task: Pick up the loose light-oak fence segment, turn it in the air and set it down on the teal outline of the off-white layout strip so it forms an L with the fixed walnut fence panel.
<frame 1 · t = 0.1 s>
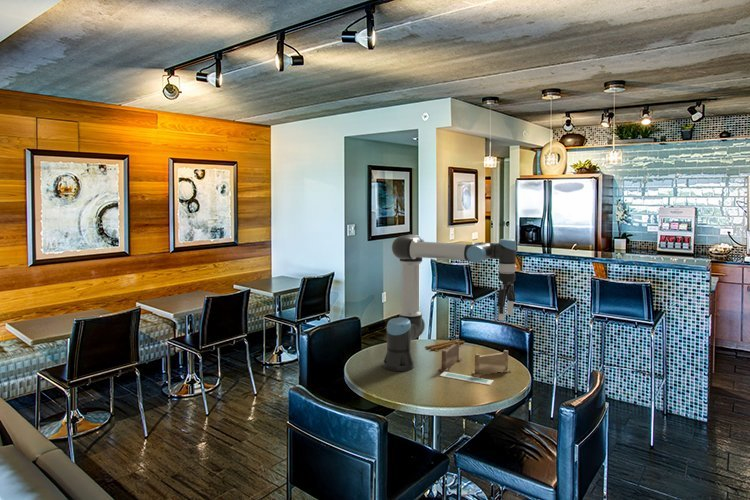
hand: (505, 317, 232), 28 cm above the table, fingers open, 13 cm apart
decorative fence: (445, 347, 282), on the table
layout strip: (466, 378, 230), on the table
oak fence segment: (491, 373, 238), on the table
walnut fence panel: (450, 365, 249), on the table
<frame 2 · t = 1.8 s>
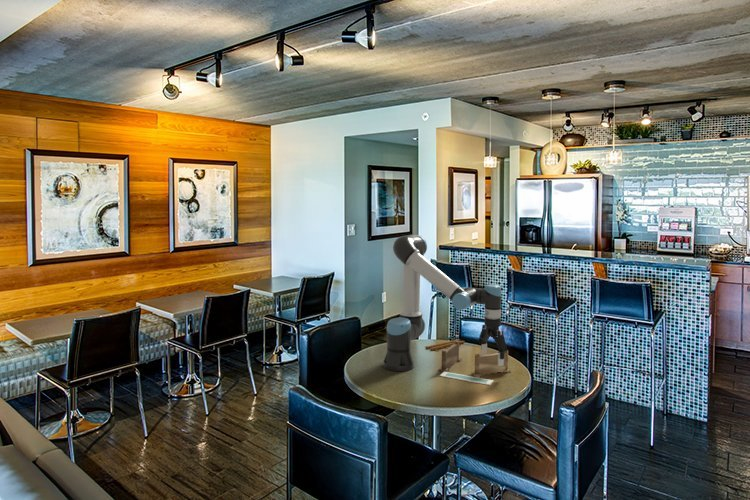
hand: (492, 361, 237), 6 cm above the table, fingers open, 13 cm apart
nothing on the table moved.
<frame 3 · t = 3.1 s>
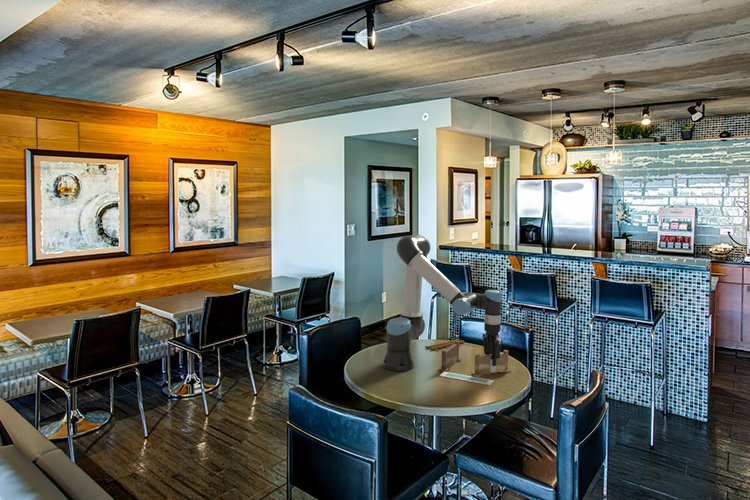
hand: (491, 371, 238), 1 cm above the table, fingers closed on oak fence segment, 2 cm apart
oak fence segment: (491, 373, 238), on the table, touching gripper
everything else where it was.
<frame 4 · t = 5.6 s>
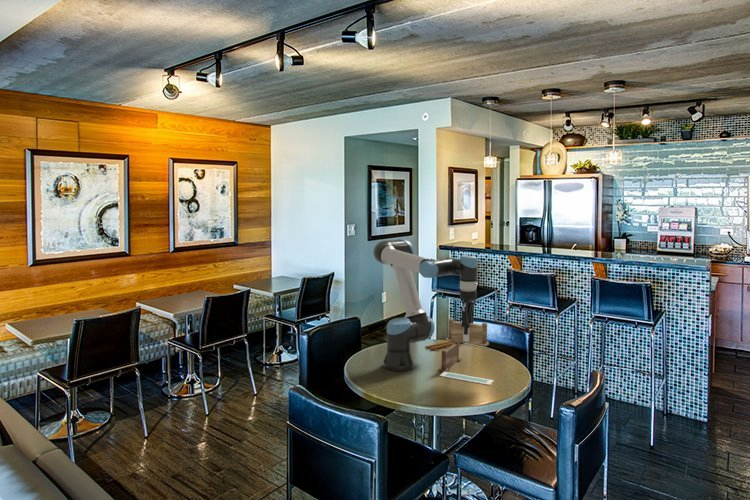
hand: (467, 340, 229), 18 cm above the table, fingers closed on oak fence segment, 2 cm apart
oak fence segment: (467, 342, 229), point 17 cm above the table, touching gripper
everything else where it was.
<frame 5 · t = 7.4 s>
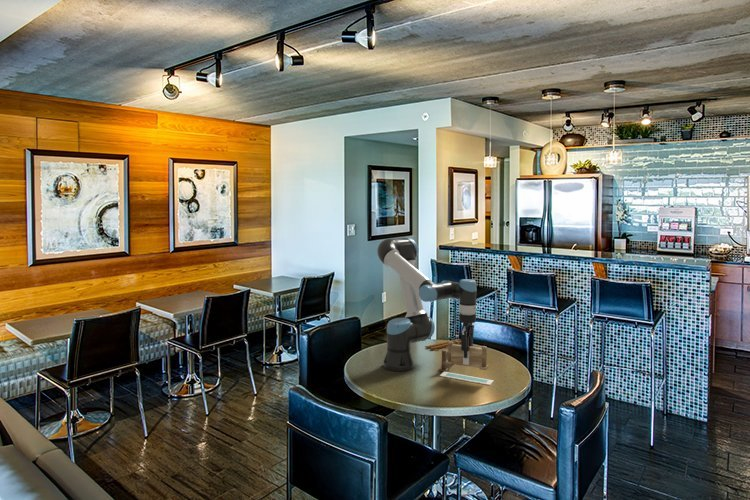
hand: (466, 363, 230), 7 cm above the table, fingers closed on oak fence segment, 2 cm apart
oak fence segment: (466, 365, 230), point 6 cm above the table, touching gripper
everything else where it was.
when the fingers open (3 cm above the table, at t = 8.5 s): oak fence segment drops 1 cm, resting on layout strip.
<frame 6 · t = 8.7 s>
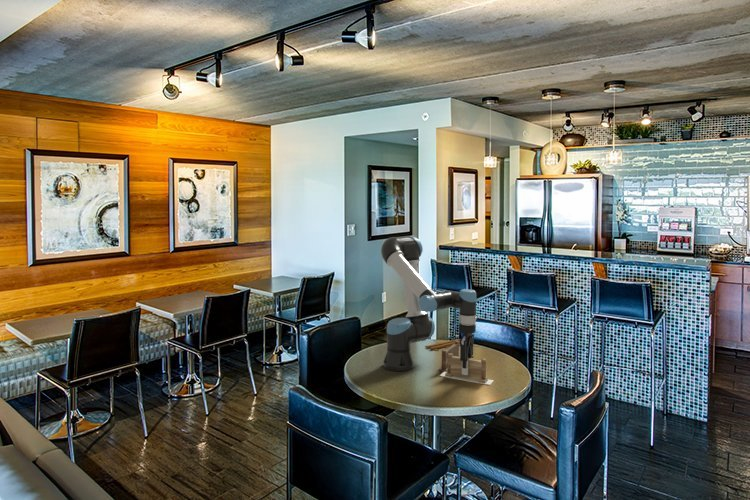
hand: (466, 372, 230), 3 cm above the table, fingers open, 4 cm apart
oak fence segment: (466, 377, 230), resting on layout strip
everything else where it was.
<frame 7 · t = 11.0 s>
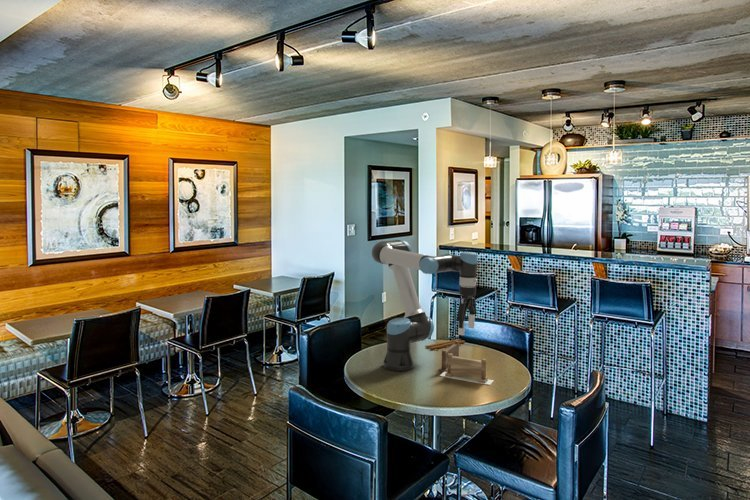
hand: (466, 331, 230), 22 cm above the table, fingers open, 13 cm apart
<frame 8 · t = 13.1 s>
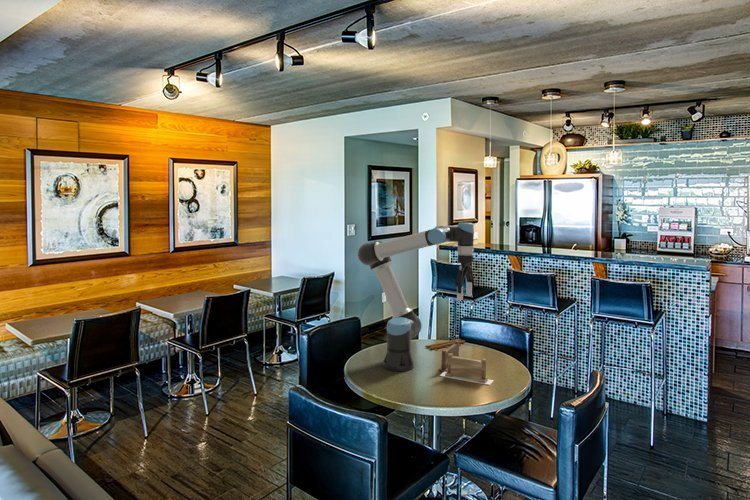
hand: (464, 297, 244), 35 cm above the table, fingers open, 13 cm apart
at the end: oak fence segment inside the target area (0.0 cm from its centre), point 0.5 cm above the table; oak fence segment tilted 0°; the gripper is holding nothing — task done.
